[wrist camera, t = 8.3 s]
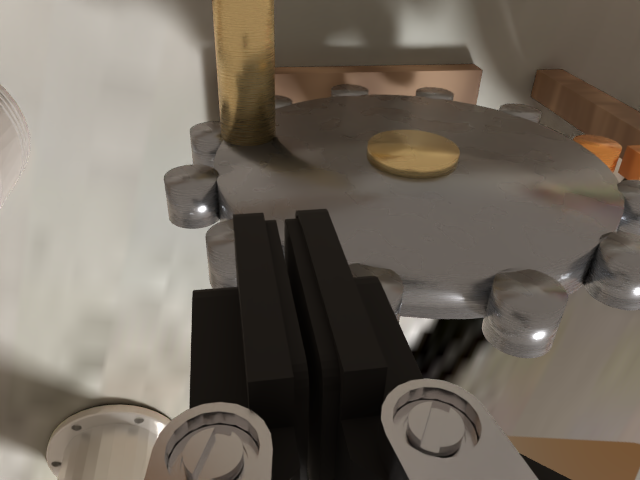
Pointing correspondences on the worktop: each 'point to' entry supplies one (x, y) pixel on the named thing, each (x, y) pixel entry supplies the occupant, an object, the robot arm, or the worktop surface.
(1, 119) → the engine component
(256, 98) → the sprocket
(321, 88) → the wheel stand
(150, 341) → the worktop surface
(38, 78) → the worktop surface
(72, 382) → the worktop surface
